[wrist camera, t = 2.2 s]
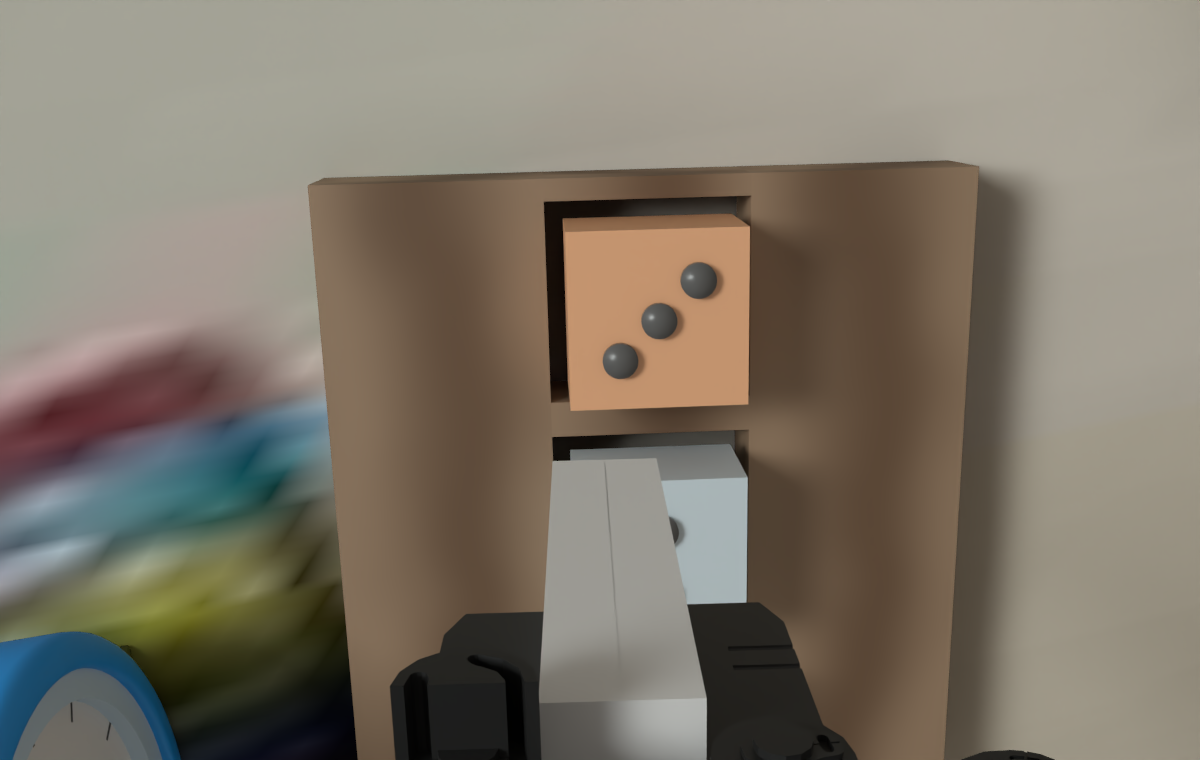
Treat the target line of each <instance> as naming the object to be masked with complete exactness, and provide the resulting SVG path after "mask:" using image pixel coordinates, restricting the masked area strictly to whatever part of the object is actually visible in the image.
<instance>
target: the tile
mask: <svg viewBox="0 0 1200 760" xmlns="http://www.w3.org/2000/svg"><path fill="white" fill-rule="evenodd" d="M563 243H564V274H565V305H566V337H567V368H568V388H569V398H570V409H571V411H583V410H610V409H637V408H664V407H691V406H718V405H745V404H748V388H749V282H750V226H749V225H747V224H746V223H744V222H743V221H741V220H740V219H738V218H737V217H736V216H734V215H733V214H731V213H729V214H695V215H662V216H628V217H594V218H563Z"/></svg>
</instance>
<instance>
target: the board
mask: <svg viewBox="0 0 1200 760" xmlns="http://www.w3.org/2000/svg"><path fill="white" fill-rule="evenodd" d="M978 176H979V166H974V165H968V164H963V163H958V162H953V161H916V162H880V163H844V164H809V165H773V166H737V167H701V168H665V169H630V170H594V171H558V172H522V173H487V174H451V175H415V176H379V177H343V178H323V179H321V180H319V181H317V182H314V183H312V184H310V185H308V194H309V206H310V217H311V229H312V240H313V252H314V263H315V275H316V286H317V298H318V309H319V320H320V332H321V343H322V355H323V366H324V378H325V389H326V401H327V412H328V423H329V435H330V446H331V458H332V469H333V481H334V492H335V504H336V515H337V527H338V538H339V549H340V561H341V572H342V584H343V595H344V607H345V618H346V630H347V641H348V652H349V664H350V675H351V687H352V698H353V710H354V721H355V733H356V744H357V756H358V760H395V749H394V736H393V723H392V710H391V697H390V685H391V684H392V682H393V681H394V679H395V678H396V676H397V675H398V673H399V672H400V671H401V670H403V669H404V668H406V667H408V666H409V665H411V664H412V663H414V662H415V661H417V660H419V659H422V658H425V657H428V656H431V655H434V654H437V653H440V649H441V645H442V641H443V636H444V634H445V633H446V632H447V631H448V630H449V629H451V628H452V627H453V626H454V625H455V624H456V623H457V622H458V621H459V620H460V619H461V618H462V617H463V616H464V615H465V614H477V613H512V612H544V598H545V581H546V564H547V547H548V530H549V513H550V496H551V479H552V462H553V448H552V437H566V436H593V435H619V434H645V433H671V432H698V431H724V430H735V454H736V456H737V458H738V460H739V462H740V464H741V466H742V468H743V470H744V471H745V473H746V475H747V477H748V493H747V599H746V603H748V602H760V603H761V604H762V605H763V606H765V607H766V608H767V609H769V610H770V611H771V612H772V613H774V614H775V615H776V616H777V617H779V618H780V619H781V620H783V621H784V623H785V626H786V628H787V631H788V634H789V636H790V639H791V641H792V644H793V649H795V652H796V655H797V657H798V660H799V663H800V668H802V670H803V673H804V676H805V678H806V681H807V684H808V686H809V689H810V692H811V694H812V697H813V700H814V702H815V705H816V707H817V710H818V713H819V715H820V718H821V721H822V723H823V725H824V726H826V727H827V728H829V729H831V730H832V731H834V732H836V733H837V734H839V735H840V736H842V737H844V739H845V740H846V741H847V743H848V744H849V745H850V747H851V748H852V749H853V751H854V752H855V754H856V756H857V759H858V760H944V750H945V733H946V716H947V699H948V682H949V666H950V649H951V632H952V615H953V598H954V581H955V564H956V547H957V530H958V514H959V497H960V480H961V463H962V446H963V429H964V412H965V395H966V379H967V362H968V345H969V328H970V311H971V294H972V277H973V260H974V243H975V227H976V210H977V193H978ZM718 196H737V211H736V217H737V218H738V219H740V220H741V221H743V222H744V223H746V224H747V225H749V226H750V282H749V388H748V404H745V405H718V406H691V407H664V408H637V409H610V410H583V411H571V409H570V398H569V388H568V381H550V364H549V336H548V308H547V280H546V252H545V225H544V202H546V201H580V200H614V199H649V198H683V197H718Z"/></svg>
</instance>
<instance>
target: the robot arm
mask: <svg viewBox="0 0 1200 760" xmlns="http://www.w3.org/2000/svg"><path fill="white" fill-rule="evenodd" d="M390 697H391V710H392V723H393V736H394V749H395V760H858V759H857V756H856V754H855V752H854V751H853V749H852V748H851V747H850V745H849V744H848V743H847V741H846V740H845V739H844V737H842V736H840V735H839V734H837V733H836V732H834V731H832V730H831V729H829V728H827V727H826V726H824V725H823V723H822V721H821V718H820V715H819V713H818V710H817V707H816V705H815V702H814V700H813V697H812V694H811V692H810V689H809V686H808V684H807V681H806V678H805V676H804V673H803V670H802V668H800V663H799V660H798V657H797V655H796V652H795V649H793V644H792V641H791V639H790V636H789V634H788V631H787V628H786V626H785V623H784V621H783V620H781V619H780V618H779V617H777V616H776V615H775V614H774V613H772V612H771V611H770V610H769V609H767V608H766V607H765V606H763V605H762V604H761V603H760V602H748V603H714V604H687V602H686V597H685V592H684V587H683V583H682V578H681V573H680V568H679V564H678V559H677V554H676V549H675V544H674V540H673V535H672V530H671V525H670V521H669V516H668V511H667V506H666V501H665V497H664V492H663V487H662V482H661V478H660V473H659V468H658V463H657V459H656V458H648V459H611V460H574V461H553V462H552V479H551V496H550V513H549V530H548V547H547V564H546V581H545V598H544V612H512V613H477V614H465V615H464V616H463V617H462V618H461V619H460V620H459V621H458V622H457V623H456V624H455V625H454V626H453V627H452V628H451V629H449V630H448V631H447V632H446V633H445V634H444V636H443V641H442V645H441V649H440V653H437V654H434V655H431V656H428V657H425V658H422V659H419V660H417V661H415V662H414V663H412V664H411V665H409V666H408V667H406V668H404V669H403V670H401V671H400V672H399V673H398V675H397V676H396V678H395V679H394V681H393V682H392V684H391V685H390ZM962 760H1054V759H1052V758H1049V757H1046V756H1044V755H1041V754H1036V753H1032V752H1027V753H1026V752H1024V751H1016V750H1006V751H988V752H982V753H979V754H976V755H973V756H970V757H968V758H965V759H962Z"/></svg>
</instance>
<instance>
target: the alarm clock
mask: <svg viewBox="0 0 1200 760" xmlns="http://www.w3.org/2000/svg"><path fill="white" fill-rule="evenodd" d="M130 654H131V649H130V648H129V646H128V645H126V646H121V647H118V646H117V645H115V644H113V643H112V642H110V641H108V640H106V639H104V638H102V637H100V636H97V635H94V634H91V633H85V632H60V633H54V634H49V635H43V636H37V637H31V638H25V639H19V640H13V641H7V642H1V643H0V760H181V758H180V754H179V750H178V747H177V743H176V740H175V737H174V734H173V731H172V728H171V725H170V723H169V720H168V717H167V715H166V713H165V710H164V708H163V706H162V704H161V701H160V700H159V698H158V696H157V694H156V692H155V690H154V688H153V687H152V685H151V684H150V682H149V680H148V679H147V677H146V676H145V674H144V673H143V671H142V670H141V669H140V668H139V666H138V665H137V664H136V662H135V661H134V660H133V659H132V658H131V657H130Z"/></svg>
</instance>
